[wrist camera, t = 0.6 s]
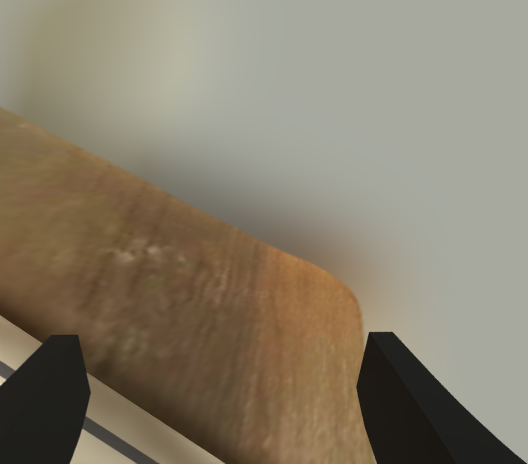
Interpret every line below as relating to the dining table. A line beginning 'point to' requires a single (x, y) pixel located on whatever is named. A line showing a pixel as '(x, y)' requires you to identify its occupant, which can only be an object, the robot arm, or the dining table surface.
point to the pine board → (108, 418)
